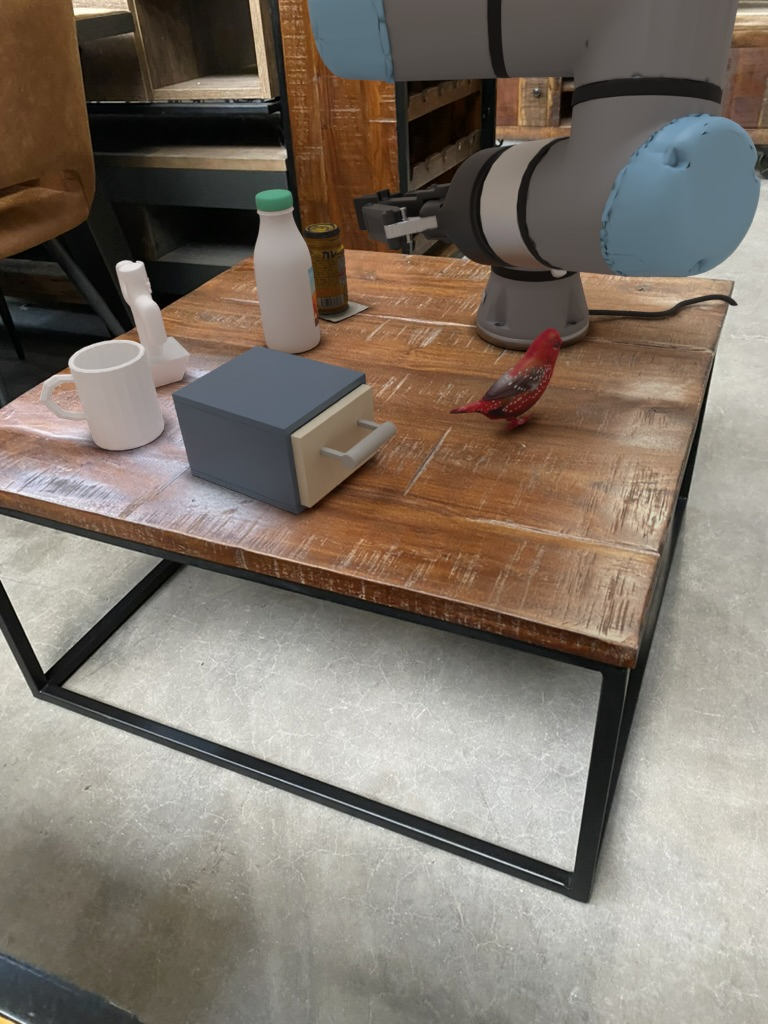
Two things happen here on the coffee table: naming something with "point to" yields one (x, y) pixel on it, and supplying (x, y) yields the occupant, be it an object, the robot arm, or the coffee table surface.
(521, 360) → the decorative bird figurine
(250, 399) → the cabinet
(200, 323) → the coffee table surface
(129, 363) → the mug
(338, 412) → the drawer
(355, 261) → the coffee table surface
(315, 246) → the condiment
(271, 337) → the milk bottle
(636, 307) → the coffee table surface
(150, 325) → the figurine
